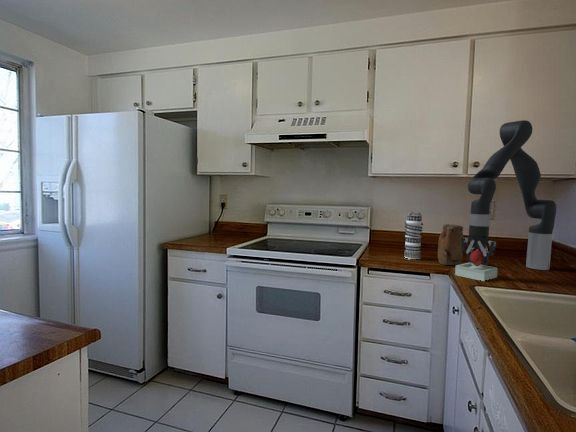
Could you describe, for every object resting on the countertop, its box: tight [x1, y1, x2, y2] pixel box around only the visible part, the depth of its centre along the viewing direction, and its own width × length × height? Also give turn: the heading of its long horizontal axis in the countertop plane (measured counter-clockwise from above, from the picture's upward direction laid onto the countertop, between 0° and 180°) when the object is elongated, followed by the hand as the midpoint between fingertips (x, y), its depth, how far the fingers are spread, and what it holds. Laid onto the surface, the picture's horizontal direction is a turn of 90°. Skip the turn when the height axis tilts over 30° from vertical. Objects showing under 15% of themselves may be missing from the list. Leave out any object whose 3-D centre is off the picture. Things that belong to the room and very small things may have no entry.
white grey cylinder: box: [403, 211, 424, 260], centre depth 183 cm, size 9×9×25 cm
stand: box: [454, 262, 499, 282], centre depth 148 cm, size 12×12×4 cm
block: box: [437, 223, 464, 266], centre depth 170 cm, size 11×8×20 cm
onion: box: [470, 248, 484, 266], centre depth 147 cm, size 6×6×8 cm
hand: (476, 263), depth 147 cm, fingers closed on onion, 6 cm apart
